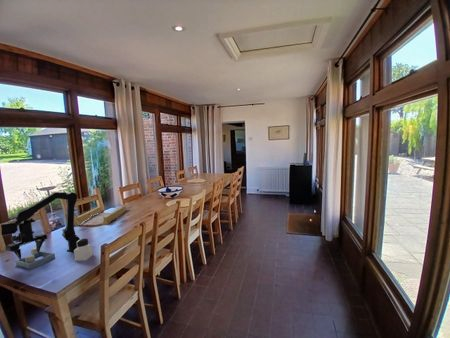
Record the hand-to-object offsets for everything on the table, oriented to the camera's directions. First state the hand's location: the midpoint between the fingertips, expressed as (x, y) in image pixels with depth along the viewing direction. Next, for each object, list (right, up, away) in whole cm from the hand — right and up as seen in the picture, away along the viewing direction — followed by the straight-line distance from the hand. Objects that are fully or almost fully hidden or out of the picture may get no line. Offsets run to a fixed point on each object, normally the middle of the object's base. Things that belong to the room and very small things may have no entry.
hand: (29, 255), depth 135 cm
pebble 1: (0, -5, +1) cm, 5 cm away
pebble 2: (-7, -5, +13) cm, 15 cm away
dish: (+1, -5, +3) cm, 6 cm away
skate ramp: (-3, +2, +81) cm, 81 cm away
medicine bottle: (+30, -4, +6) cm, 30 cm away
